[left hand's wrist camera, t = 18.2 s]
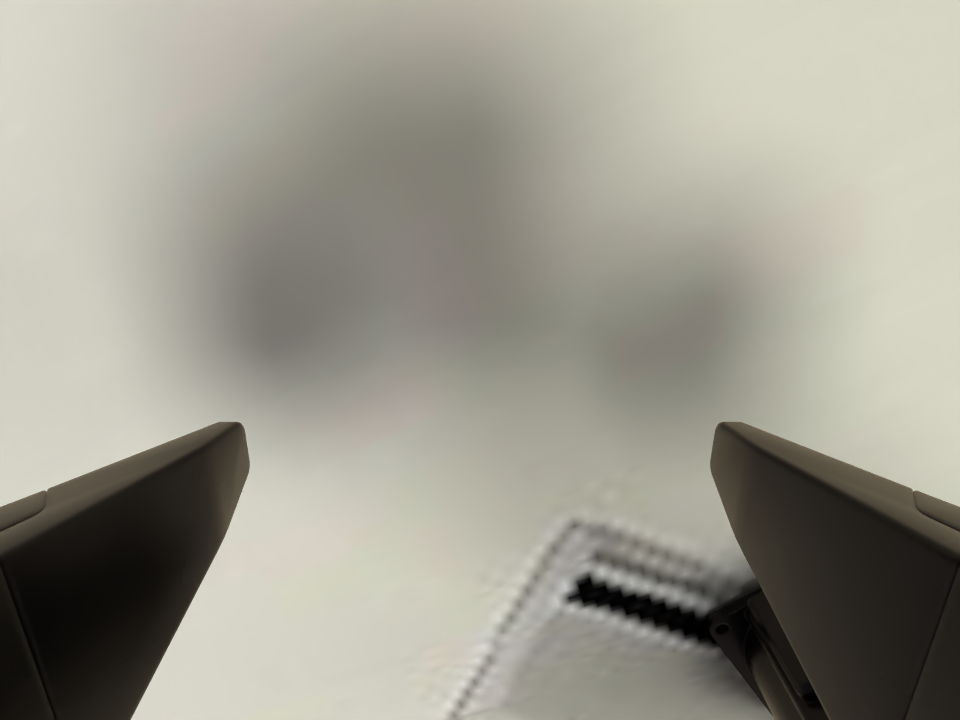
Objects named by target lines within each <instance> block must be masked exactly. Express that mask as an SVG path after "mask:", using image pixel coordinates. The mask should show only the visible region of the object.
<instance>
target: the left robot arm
mask: <svg viewBox="0 0 960 720" xmlns="http://www.w3.org/2000/svg"><path fill="white" fill-rule="evenodd" d="M249 467H250V461H249V454H248V448H247V442H246V435H245V430H244V427H243V425H242V424H241V423H239V422H218V423H215V424H213V425H210V426H208V427H205V428H203V429H200V430H197V431H195V432H192V433H190V434H187V435H185V436H182V437H180V438H177V439H174V440H172V441H169V442H167V443H164V444H162V445H159V446H156V447H154V448H151V449H149V450H146V451H144V452H141V453H139V454H136V455H133V456H131V457H128V458H126V459H123V460H121V461H118V462H115V463H113V464H110V465H108V466H105V467H103V468H100V469H98V470H95V471H92V472H90V473H87V474H85V475H82V476H80V477H77V478H74V479H72V480H69V481H67V482H64V483H62V484H59V485H57V486H54V487H51V488H49V489H48V490H47V492H46V491H41V492H38V493H36V494H33V495H31V496H28V497H26V498H23V499H20V500H18V501H15V502H12V503H10V504H7V505H4V506H2V507H0V720H131V718H132V716H133V714H134V712H135V710H136V708H137V706H138V704H139V702H140V700H141V698H142V697H143V695H144V693H145V691H146V689H147V687H148V685H149V683H150V681H151V679H152V677H153V675H154V673H155V671H156V669H157V668H158V666H159V664H160V662H161V660H162V658H163V656H164V654H165V652H166V650H167V648H168V646H169V644H170V642H171V640H172V638H173V637H174V635H175V633H176V631H177V629H178V627H179V625H180V623H181V621H182V619H183V617H184V615H185V613H186V611H187V609H188V607H189V606H190V604H191V602H192V600H193V598H194V596H195V594H196V592H197V590H198V588H199V586H200V584H201V582H202V580H203V578H204V577H205V575H206V573H207V571H208V569H209V567H210V565H211V563H212V561H213V559H214V557H215V555H216V553H217V551H218V549H219V547H220V545H221V543H222V541H223V539H224V537H225V534H226V532H227V530H228V527H229V524H230V522H231V519H232V516H233V514H234V511H235V508H236V506H237V503H238V500H239V497H240V495H241V492H242V489H243V487H244V484H245V481H246V479H247V476H248V473H249ZM710 467H711V473H712V476H713V479H714V481H715V484H716V487H717V489H718V492H719V495H720V497H721V500H722V503H723V506H724V508H725V511H726V514H727V516H728V519H729V522H730V524H731V527H732V530H733V532H734V534H735V537H736V539H737V541H738V543H739V545H740V547H741V549H742V551H743V553H744V555H745V557H746V559H747V561H748V563H749V565H750V567H751V569H752V571H753V573H754V575H755V577H756V578H757V580H758V582H759V584H760V586H761V589H759V590H757V591H755V592H753V593H751V594H749V595H748V596H746V597H744V598H742V599H740V600H738V601H736V602H734V603H732V604H730V605H728V606H726V607H724V608H722V609H720V610H718V611H716V612H715V613H713V614H711V615H710V616H709V617H708V618H707V620H706V625H707V627H708V629H709V632H710V634H711V636H712V637H713V638H714V639H715V641H716V642H717V643H718V645H719V646H720V647H721V649H722V650H723V651H724V653H725V654H726V655H727V657H728V658H729V659H730V660H731V662H732V663H733V664H734V666H735V667H736V668H737V670H738V671H739V672H740V674H741V675H742V676H743V677H744V679H745V680H746V681H747V683H748V684H749V685H750V687H751V688H752V689H753V691H754V692H755V693H756V695H757V696H758V697H759V698H760V700H761V701H762V702H763V704H764V705H765V706H766V708H767V709H768V710H769V712H770V713H771V714H772V716H773V717H774V719H775V720H960V507H958V506H956V505H953V504H950V503H948V502H945V501H942V500H940V499H937V498H934V497H932V496H929V495H927V494H924V493H922V492H919V491H914V492H913V490H912V489H911V488H909V487H906V486H903V485H901V484H898V483H896V482H893V481H891V480H888V479H886V478H883V477H880V476H878V475H875V474H873V473H870V472H868V471H865V470H862V469H860V468H857V467H855V466H852V465H850V464H847V463H845V462H842V461H839V460H837V459H834V458H832V457H829V456H827V455H824V454H821V453H819V452H816V451H814V450H811V449H809V448H806V447H804V446H801V445H798V444H796V443H793V442H791V441H788V440H786V439H783V438H780V437H778V436H775V435H773V434H770V433H768V432H765V431H763V430H760V429H757V428H755V427H752V426H750V425H747V424H745V423H742V422H721V423H719V424H718V425H717V427H716V430H715V435H714V442H713V448H712V454H711V461H710ZM721 624H723V625H721ZM719 625H721V626H719Z"/></svg>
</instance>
